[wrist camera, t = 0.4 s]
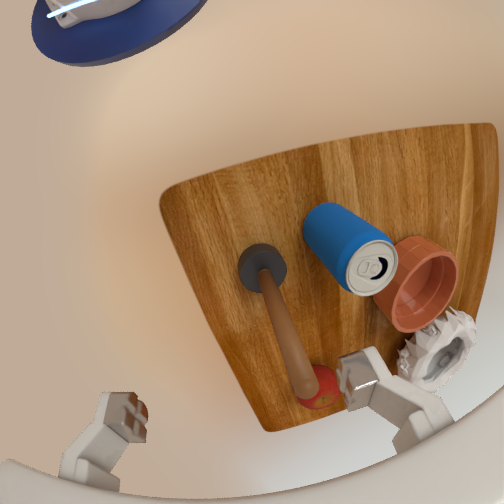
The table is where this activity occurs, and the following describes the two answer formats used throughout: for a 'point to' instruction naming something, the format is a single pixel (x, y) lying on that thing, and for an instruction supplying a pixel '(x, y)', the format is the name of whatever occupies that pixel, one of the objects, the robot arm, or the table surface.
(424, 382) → the bowl
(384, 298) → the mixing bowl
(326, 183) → the table surface
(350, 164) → the table surface
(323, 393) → the apple
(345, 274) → the beverage can
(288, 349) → the plunger
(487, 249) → the table surface
